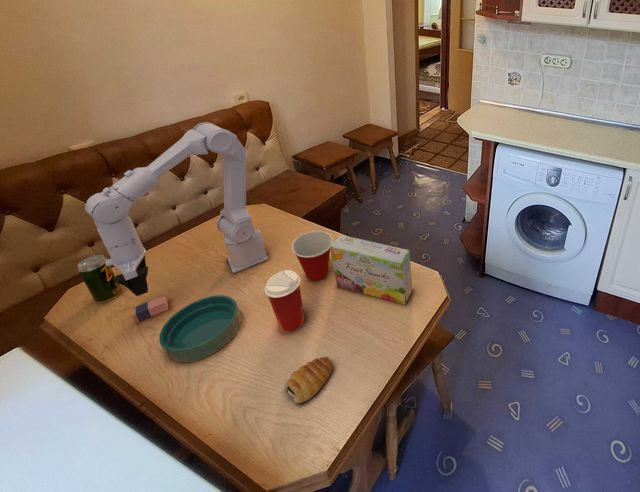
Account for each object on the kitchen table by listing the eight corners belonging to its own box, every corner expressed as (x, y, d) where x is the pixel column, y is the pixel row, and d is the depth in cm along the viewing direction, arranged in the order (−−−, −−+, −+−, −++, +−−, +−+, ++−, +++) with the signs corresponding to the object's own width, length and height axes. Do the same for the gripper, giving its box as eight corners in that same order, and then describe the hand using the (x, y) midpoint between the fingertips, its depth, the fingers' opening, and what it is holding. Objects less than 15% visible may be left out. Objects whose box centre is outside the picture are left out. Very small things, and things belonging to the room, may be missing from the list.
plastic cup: (320, 293, 98) (313, 259, 93) (289, 282, 102) (282, 249, 97) (345, 267, 108) (340, 235, 103) (316, 257, 111) (310, 226, 106)
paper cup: (315, 314, 92) (306, 273, 86) (293, 340, 85) (282, 297, 80) (291, 306, 94) (281, 265, 89) (267, 330, 87) (255, 287, 82)
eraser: (167, 302, 94) (164, 295, 93) (168, 309, 92) (165, 302, 91) (137, 314, 91) (134, 307, 90) (138, 322, 89) (134, 314, 88)
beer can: (92, 307, 92) (73, 271, 88) (97, 293, 97) (79, 258, 92) (120, 298, 95) (103, 263, 90) (123, 285, 99) (107, 251, 95)
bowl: (234, 298, 96) (230, 286, 94) (247, 337, 86) (243, 324, 84) (163, 330, 87) (157, 317, 85) (168, 378, 76) (161, 364, 75)
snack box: (335, 288, 100) (328, 245, 94) (346, 274, 105) (340, 232, 99) (404, 306, 95) (402, 262, 89) (413, 290, 100) (411, 248, 94)
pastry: (321, 355, 82) (319, 344, 80) (340, 372, 78) (338, 361, 77) (282, 390, 75) (279, 378, 73) (301, 410, 71) (298, 398, 70)
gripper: (99, 231, 85) (120, 274, 91) (95, 265, 75) (119, 311, 81) (138, 220, 89) (156, 262, 95) (139, 250, 79) (159, 295, 85)
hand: (141, 284), depth 88 cm, fingers open, 7 cm apart
